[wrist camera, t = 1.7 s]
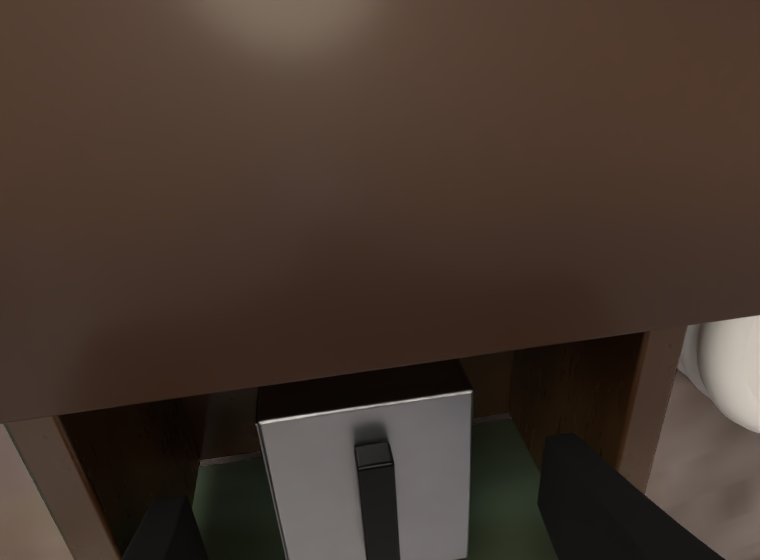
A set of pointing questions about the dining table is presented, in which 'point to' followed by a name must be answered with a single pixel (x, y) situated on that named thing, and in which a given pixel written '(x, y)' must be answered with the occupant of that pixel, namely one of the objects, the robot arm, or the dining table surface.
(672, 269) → the cabinet
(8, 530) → the dining table surface
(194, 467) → the drawer
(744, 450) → the dining table surface
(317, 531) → the cube with black handle
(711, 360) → the white ridged disc
